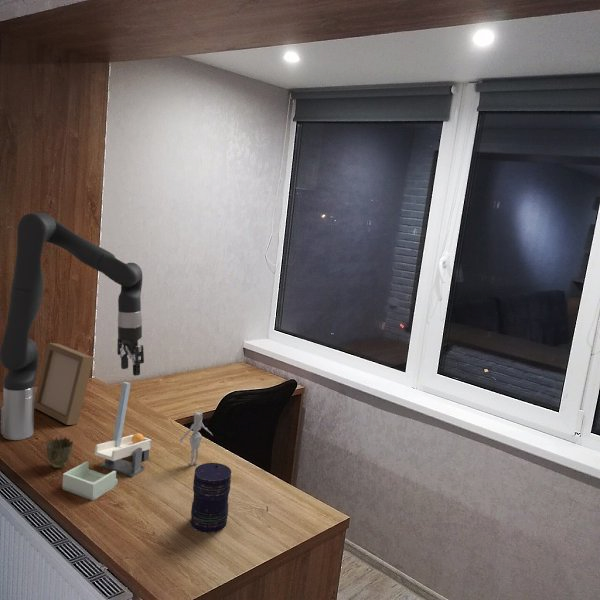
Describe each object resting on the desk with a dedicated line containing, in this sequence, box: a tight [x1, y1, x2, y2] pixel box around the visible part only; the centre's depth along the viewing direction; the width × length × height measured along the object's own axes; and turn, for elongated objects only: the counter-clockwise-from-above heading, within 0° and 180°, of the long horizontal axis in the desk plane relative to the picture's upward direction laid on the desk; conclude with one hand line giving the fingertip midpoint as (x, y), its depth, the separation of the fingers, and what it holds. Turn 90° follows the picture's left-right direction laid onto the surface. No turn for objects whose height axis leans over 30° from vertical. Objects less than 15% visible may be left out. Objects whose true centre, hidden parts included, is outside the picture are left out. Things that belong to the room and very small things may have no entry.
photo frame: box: [34, 342, 94, 426], centre depth 210 cm, size 15×22×25 cm
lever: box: [94, 381, 153, 461], centre depth 175 cm, size 9×18×21 cm, turn 158°
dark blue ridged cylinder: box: [190, 462, 232, 534], centre depth 151 cm, size 10×10×15 cm
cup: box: [45, 437, 73, 470], centre depth 172 cm, size 8×7×8 cm
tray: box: [62, 460, 119, 502], centre depth 163 cm, size 11×10×5 cm
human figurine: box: [178, 411, 213, 467], centre depth 181 cm, size 12×4×18 cm, turn 130°
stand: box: [100, 438, 150, 478], centre depth 178 cm, size 12×12×8 cm
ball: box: [132, 432, 144, 444], centre depth 181 cm, size 4×4×4 cm
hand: (130, 371), depth 188 cm, fingers open, 8 cm apart
